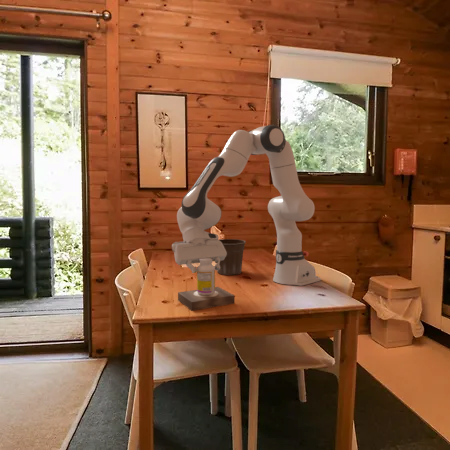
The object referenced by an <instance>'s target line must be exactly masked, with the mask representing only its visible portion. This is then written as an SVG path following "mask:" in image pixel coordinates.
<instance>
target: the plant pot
mask: <svg viewBox="0 0 450 450" xmlns="http://www.w3.org/2000/svg"><path fill="white" fill-rule="evenodd" d="M218 240H219V241H221V242H222V244H223V246H224V248H225V250H226V252H227V255H226V257H225V259H224V260H222V261H220V263H219V265H220V270H216V272H217V273H218V274H219V275H221V276H222V275H223V276H233V275H240V274H241V273H242V269H243V257H244V251H245V246H246V245H245V244H246V240H243V239H237V238H218Z"/></svg>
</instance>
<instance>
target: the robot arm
mask: <svg viewBox="0 0 450 450" xmlns="http://www.w3.org/2000/svg"><path fill="white" fill-rule="evenodd" d="M256 155H266V156H267V158H268V163H269V168H270V173H271V181H272V184H273V186H274V188H275V189H276V190H278V192H279V194H280V195H279V196H275V197H273V198H271V199H270V200H269V201H268V204H267V212H268V213H269V215H270V216H271V218H272V220H273V223H274V226H275V230H276V231H275V232H276V249H275V260H276V262H275V270H274V274H273V277H272V281H273V282H275V283H278V284H282V285H290V286H302V287H303V286H305V285H306V286H307V285H309V284H313V283H317V282H321V281H322V279H321V277H319V276H317V273H316V268H315V266H314V265H312V263H310V262H309V261H308V260H307V259H305V257H309V254H310V253H309V251H305V250H302V249H303V248H302V243H303V242H302V241H303V240H302V239H303V234H302V232H301V231H300V229H299V228H298V226H297V223H296V222H304V221H308V220H310V219H311V218H312V217H313V216H314V214H315V209H316V207H315V204H314V201H313V200H312V199H311V198H309V196H307V194H306V193H305V191H304V189H303V187H302V185H301V183H300V180H299V176H298V170H297V165H296V160H295V156H294V152H293V149H292V146H291V144H290V142H289V141H287V140H286V136H285V133H284V131H283V129H282V128H281V127H280V126H278V125H276V124H268V125H264V126H259V127H257V128H255V129H252V130H248V131H247V130H244V129H237V130H235V131H234V132H233V133H232V134H231V136H230V137H229V138H228V139H227V141H226V143H225V145H224V147H223V149H222V151H221V152H220V154H219V155H218V156H216V157H214V158H213V159H211V160H210V161H209V162H208V164H207V165H206V166H205V167H204V170H203V171H202V173H201V174H200V176H198V178H197V179H196V181H195V183H194V185H193V186H192V187H191V188H190V190H188V192H186V194H184V196H183V198H182V201H181V206H180V208H179V209H178V210H177V213H176V220H177V225H178V228H179V231H180V232H181V234H182V239H183V241H175V242H173V243H172V244H171V250H172V252H173V254H174V255H173V256H174V260H175V261H174V262H175V263H176V264H177V265H178V266H180V265H186V267H187V268H188V269H189V270H190V271H191V273H192V274H195V273H196V274H197V266H194V264H200V262H199V259H203V258H211V259H212V262H214V263H215V265H213V266H214V267H215V271H217V270H220V265H219V263H220V261H222V260H224V259H225V257H226V255H227V252H226V250H225V248H224V246H223V244H222V242H221V241H219V239H220V238H219V235H218V234H216V233H214V232H213V233H212V232H208V231H206V230H208V229H211V228H213V227H214V226H216V225H217V224H218V223H219V222H220V220H221V218H222V209H221V208H220V206H218V204H216V203H215V202H213V201H212V200H210V199H209V198H208V193H209V191H210V190H211V188H212V187H213V186H214V184H215V182H216V181H217V179H218V178H219V177H222V176H224V177H230V178H231V177H236V176H239V175H241V173H242V172H243V170H244V169H245V167H246V165H247V163H248V161H249V159H250V156H256Z"/></svg>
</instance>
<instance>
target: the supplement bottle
mask: <svg viewBox="0 0 450 450" xmlns="http://www.w3.org/2000/svg"><path fill="white" fill-rule="evenodd" d="M199 262H200V263H199V265H198V266H196V269H197V272H196V285H197V287H196V290H197V292H198V294H200V295H211V294H214V293H215V287H216V274H215V273H216V270H215V267H214V266H215V265H213V261H212V259H211V258H203V259H199Z"/></svg>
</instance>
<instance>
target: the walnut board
mask: <svg viewBox="0 0 450 450" xmlns="http://www.w3.org/2000/svg"><path fill="white" fill-rule="evenodd" d="M235 297H236V296H235V294H233V293H231V292H229V291H227V290H225V289H223V288H222V287H220V286H215V293H214V294H211V295H200V294H198V292H197V289H193V290H186V291H179V292H177V301H178V302H179V303H180V304H182V305H184V307H186V308H188V309H189V310H191V311H197V310H203V309H209V308H215V307H222V306H228V305H231V304H232V305H233V304H235V299H236V298H235Z"/></svg>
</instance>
